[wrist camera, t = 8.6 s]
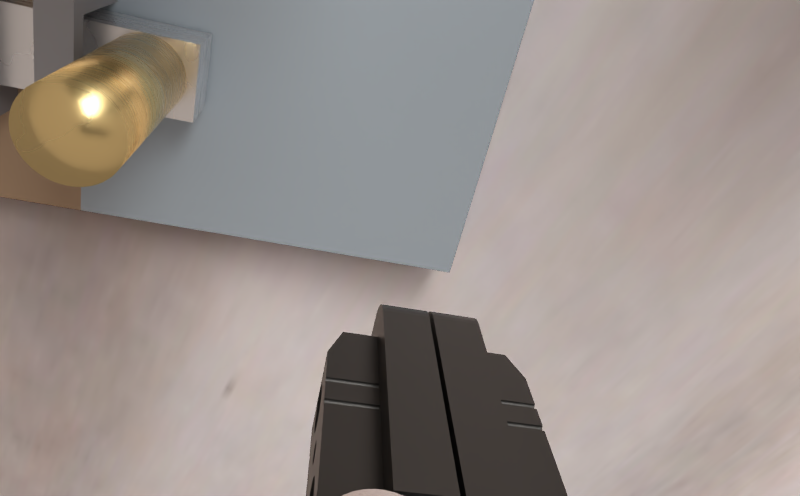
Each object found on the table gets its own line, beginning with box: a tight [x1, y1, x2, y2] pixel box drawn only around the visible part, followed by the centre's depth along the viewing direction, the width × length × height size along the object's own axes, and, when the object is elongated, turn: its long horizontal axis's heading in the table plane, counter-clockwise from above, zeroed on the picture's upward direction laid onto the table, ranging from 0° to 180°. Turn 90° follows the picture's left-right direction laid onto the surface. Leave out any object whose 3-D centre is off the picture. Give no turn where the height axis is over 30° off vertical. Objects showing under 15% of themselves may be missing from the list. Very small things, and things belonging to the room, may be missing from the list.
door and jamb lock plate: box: [0, 0, 534, 272], centre depth 20 cm, size 22×12×6 cm, turn 77°
